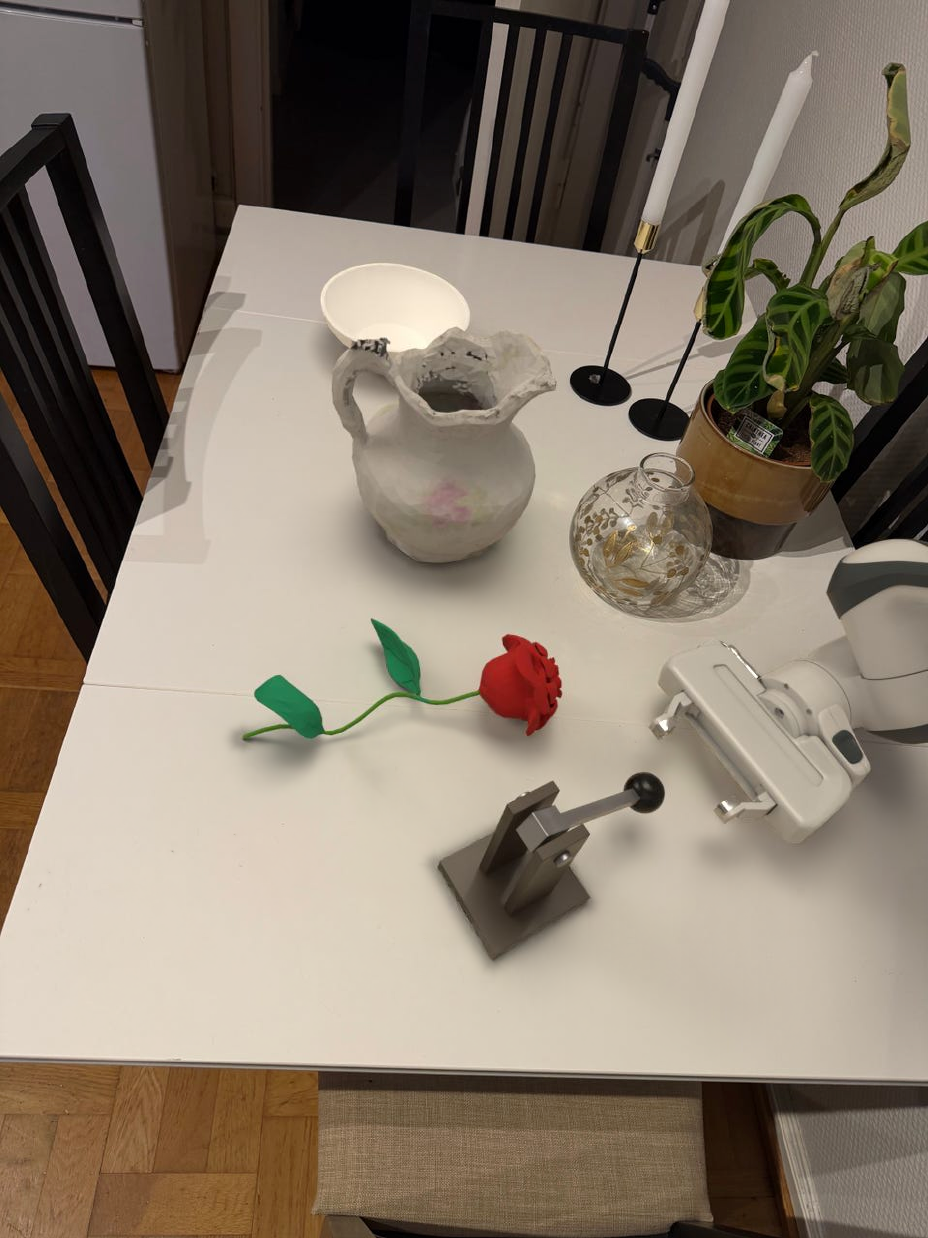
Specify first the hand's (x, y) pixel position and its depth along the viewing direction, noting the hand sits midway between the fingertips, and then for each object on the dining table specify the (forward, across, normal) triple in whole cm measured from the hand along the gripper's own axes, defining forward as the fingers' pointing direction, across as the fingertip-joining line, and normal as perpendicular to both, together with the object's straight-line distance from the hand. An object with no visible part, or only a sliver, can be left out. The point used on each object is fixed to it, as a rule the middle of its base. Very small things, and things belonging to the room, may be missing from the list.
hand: (687, 771), depth 79 cm
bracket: (+18, 0, +6) cm, 19 cm away
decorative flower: (+18, -21, +6) cm, 28 cm away
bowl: (-8, -70, +6) cm, 71 cm away
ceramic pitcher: (+4, -40, +6) cm, 41 cm away
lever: (+12, 0, -1) cm, 12 cm away
